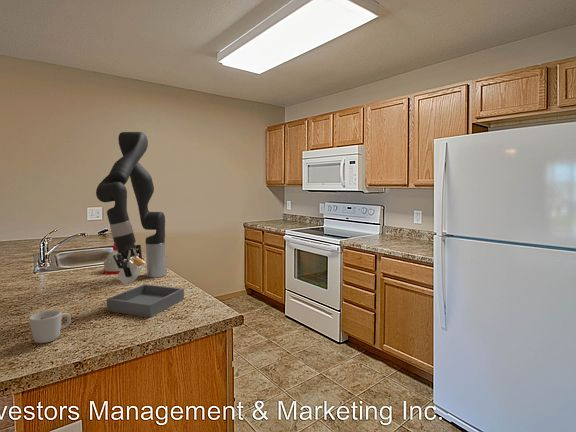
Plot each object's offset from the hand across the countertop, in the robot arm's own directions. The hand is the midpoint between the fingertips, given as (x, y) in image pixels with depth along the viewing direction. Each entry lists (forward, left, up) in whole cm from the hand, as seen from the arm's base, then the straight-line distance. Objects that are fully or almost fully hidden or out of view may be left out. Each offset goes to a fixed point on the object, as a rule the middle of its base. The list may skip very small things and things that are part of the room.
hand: (133, 273), depth 135 cm
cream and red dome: (-37, -45, -12) cm, 59 cm away
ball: (+1, +3, +5) cm, 6 cm away
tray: (0, +6, -12) cm, 13 cm away
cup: (+33, -2, -12) cm, 35 cm away
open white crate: (0, -4, -2) cm, 5 cm away
